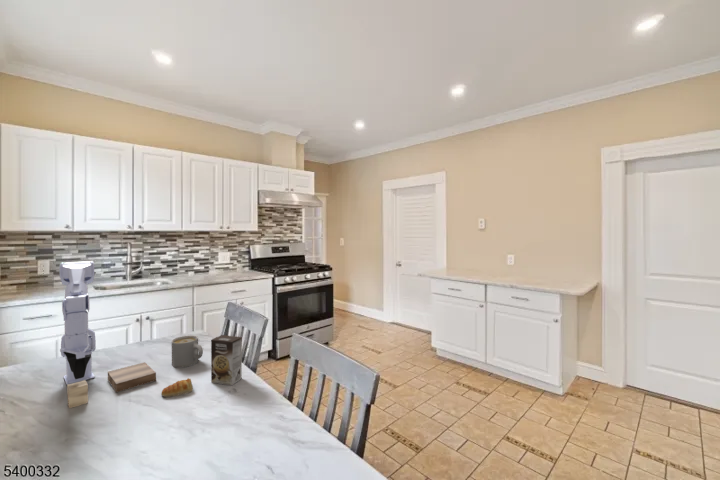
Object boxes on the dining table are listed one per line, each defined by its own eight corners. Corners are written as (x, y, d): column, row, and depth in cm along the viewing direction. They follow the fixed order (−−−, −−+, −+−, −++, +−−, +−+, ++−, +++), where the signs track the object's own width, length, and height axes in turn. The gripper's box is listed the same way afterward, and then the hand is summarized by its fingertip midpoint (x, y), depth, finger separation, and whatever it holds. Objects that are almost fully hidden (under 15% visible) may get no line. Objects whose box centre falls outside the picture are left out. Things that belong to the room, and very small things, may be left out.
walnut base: (107, 379, 121) (107, 371, 121) (145, 369, 130) (145, 362, 129) (116, 392, 111) (116, 383, 111) (156, 380, 120) (155, 372, 120)
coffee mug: (166, 364, 134) (166, 340, 134) (188, 356, 143) (188, 334, 143) (187, 371, 128) (187, 346, 128) (208, 362, 137) (208, 338, 137)
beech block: (67, 403, 104) (67, 384, 104) (85, 397, 108) (85, 380, 108) (69, 408, 101) (69, 389, 101) (88, 402, 105) (87, 384, 104)
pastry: (163, 401, 106) (162, 389, 106) (160, 393, 112) (159, 382, 111) (194, 392, 112) (194, 381, 112) (190, 385, 117) (189, 374, 117)
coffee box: (210, 383, 119) (210, 339, 118) (221, 375, 125) (221, 334, 124) (232, 386, 116) (231, 341, 116) (242, 378, 123) (242, 336, 122)
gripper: (57, 330, 106) (57, 371, 106) (62, 341, 96) (63, 386, 96) (85, 326, 111) (85, 364, 111) (93, 335, 101) (93, 378, 102)
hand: (77, 374), depth 104 cm, fingers open, 7 cm apart
